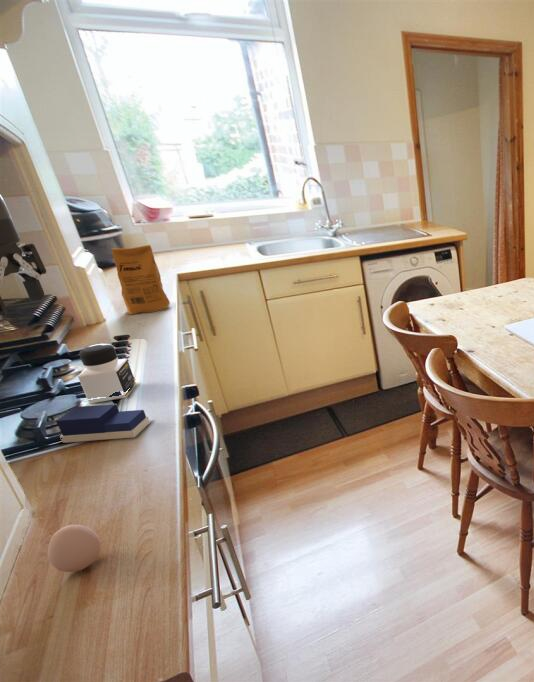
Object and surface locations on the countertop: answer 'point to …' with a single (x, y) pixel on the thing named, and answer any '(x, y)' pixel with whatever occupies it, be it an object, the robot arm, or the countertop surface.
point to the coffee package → (140, 279)
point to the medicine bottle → (104, 373)
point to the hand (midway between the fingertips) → (19, 306)
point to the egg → (73, 548)
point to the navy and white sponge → (100, 423)
